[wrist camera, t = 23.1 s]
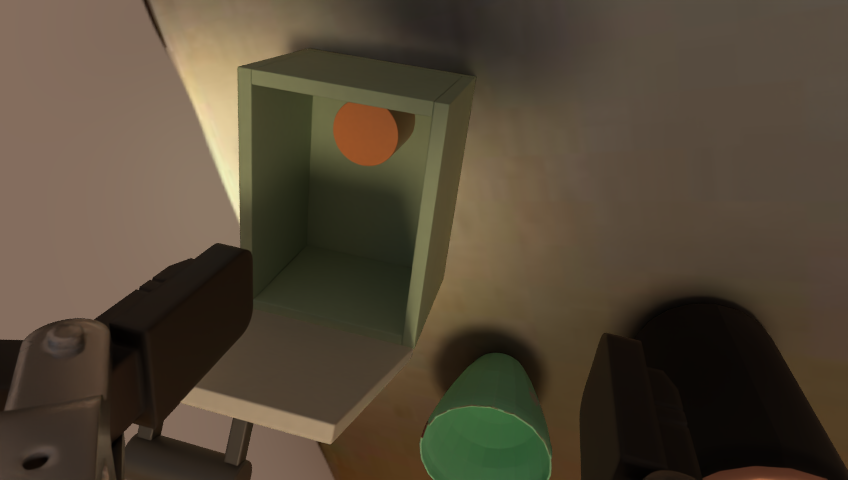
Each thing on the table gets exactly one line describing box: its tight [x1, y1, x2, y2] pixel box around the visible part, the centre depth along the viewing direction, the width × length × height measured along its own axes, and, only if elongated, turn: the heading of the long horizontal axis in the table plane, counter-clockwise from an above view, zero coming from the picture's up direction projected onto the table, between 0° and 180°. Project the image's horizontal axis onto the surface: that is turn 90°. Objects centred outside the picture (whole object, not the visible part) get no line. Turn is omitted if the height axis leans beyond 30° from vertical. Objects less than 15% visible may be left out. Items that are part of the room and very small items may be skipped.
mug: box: [419, 353, 552, 480], centre depth 47 cm, size 15×10×10 cm
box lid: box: [125, 309, 413, 480], centre depth 31 cm, size 18×13×5 cm
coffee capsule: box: [333, 102, 415, 166], centre depth 40 cm, size 5×5×5 cm
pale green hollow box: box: [238, 48, 476, 349], centre depth 41 cm, size 17×13×10 cm
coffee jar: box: [635, 304, 848, 480], centre depth 38 cm, size 11×11×18 cm
